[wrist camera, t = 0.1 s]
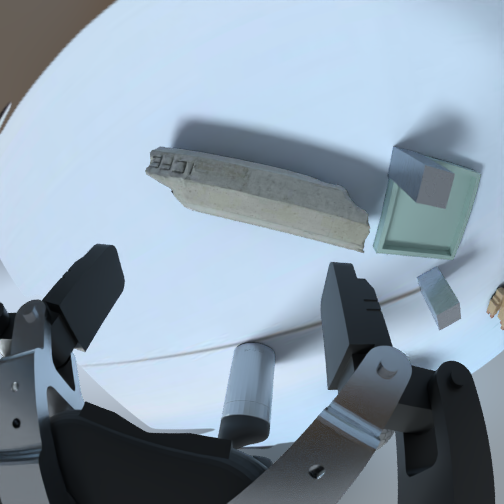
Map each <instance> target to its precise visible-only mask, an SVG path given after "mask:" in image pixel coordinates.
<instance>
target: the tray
mask: <svg viewBox="0 0 504 504" xmlns="http://www.w3.org/2000/svg"><path fill="white" fill-rule="evenodd" d="M424 156H425V155H424ZM426 157H428V158H429V159H431V160H433V161H435V162H436V163H438V164H440V165H441V166H443V167H445V168H446V169H448V170H450V171H451V172H453V173H454V174H455V176H454V180H453V184H452V188H451V192H450V195H449V199H448V202H447V205H446V209H443V208H438V207H434V206H429V205H424V204H419V203H416V202H415V201H414V200H413V199H412V198H411V197H410V196H409V195H407V194H406V193H405V192H404V191H403V190H402V189H401V188H400V187H399V186H398V185H397V184H396V183H395V182H394V181H393V180H391V179H390V178H389V182H388V187H387V191H386V196H385V200H384V205H383V209H382V213H381V218H380V222H379V226H378V229H377V233H376V237H375V241H374V244H373V247H374V249H375V251H376V253H382V254H393V255H404V256H415V257H425V258H436V259H446V260H453V259H454V257H455V254H456V252H457V249H458V247H459V244H460V241H461V239H462V236H463V233H464V231H465V228H466V225H467V222H468V219H469V216H470V213H471V210H472V206H473V203H474V200H475V196H476V192H477V189H478V185H479V181H480V177H481V174H480V173H478V172H477V171H475V170H472V169H469V168H466V167H463V166H460V165H457V164H453V163H450V162H447V161H443V160H440V159H436V158H432V157H429V156H426Z"/></svg>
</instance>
